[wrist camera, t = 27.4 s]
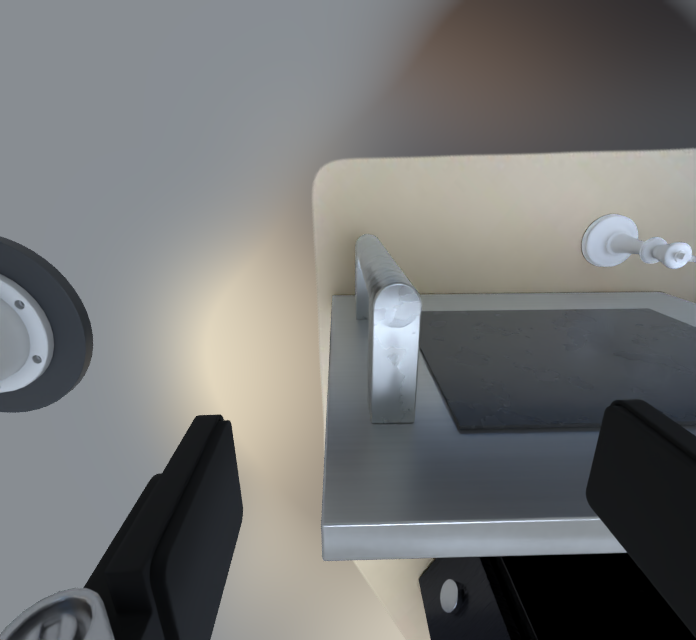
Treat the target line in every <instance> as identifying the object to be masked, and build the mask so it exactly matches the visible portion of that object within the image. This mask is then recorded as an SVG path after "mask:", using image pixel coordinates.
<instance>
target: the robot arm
mask: <svg viewBox="0 0 696 640" xmlns="http://www.w3.org/2000/svg"><path fill="white" fill-rule="evenodd" d="M53 350H54V339H53V332H52V329H51V326H50V323H49V321H48V319H47V317H46V315H45V313H44V311H43V310H42V308H41V307H40V305H39V304H38V303H37V301H36V300H35V299H34V298H33V297H32V296H31V295H30V294H29V293H28V292H27V291H26V290H25V289H23V288H22V287H21V286H19V285H18V284H17V283H15V282H14V281H13V280H11V279H9V278H7V277H5V276H3V275H1V274H0V393H3V392H9V391H14V390H17V389H20V388H23V387H25V386H27V385H28V384H30V383H31V382H33V381H35V380H36V379H37V378H38V377H40V376H41V375H42V374H43V373H44V372H45V370H46V369H47V368H48V366H49V364H50V362H51V359H52V357H53ZM586 498H587V501H588V504H589V505H590V507H591V508H592V510H593V511H594V512H595V513H596V515H597V516H598V517H599V518H600V520H601V521H602V522H603V523H604V525H605V526H606V527H607V528H608V529H609V531H610V532H611V533H612V534H613V536H614V537H615V538H616V539H617V541H618V542H619V543H620V544H621V546H622V547H623V548H624V549H625V551H626V552H627V553H628V554H629V556H630V557H631V558H632V559H633V561H634V562H635V563H636V564H637V566H638V567H639V568H640V569H641V571H642V572H643V573H644V574H645V575H646V577H647V578H648V579H649V580H650V582H651V583H652V584H653V585H654V587H655V588H656V589H657V590H658V592H659V593H660V594H661V595H662V597H663V598H664V599H665V600H666V602H667V603H668V604H669V605H670V607H671V608H672V609H673V610H674V612H675V613H676V614H677V615H678V617H679V618H680V619H681V620H682V621H683V623H684V624H685V625H686V626H687V628H688V629H689V630H690V631H691V633H692V634H693V635H694V636H695V638H696V436H695V435H694V434H692V433H691V432H689V431H688V430H686V429H685V428H683V427H682V426H681V425H679V424H678V423H676V422H675V421H673V420H672V419H670V418H669V417H667V416H666V415H665V414H663V413H662V412H660V411H659V410H657V409H656V408H654V407H653V406H652V405H650V404H649V403H647V402H646V401H644V400H642V399H626V400H615V401H613V402H612V403H611V405H610V406H609V407H607V408H606V409H605V412H604V415H603V420H602V424H601V428H600V432H599V437H598V441H597V445H596V449H595V454H594V458H593V462H592V466H591V471H590V475H589V479H588V483H587V487H586ZM242 516H243V505H242V497H241V490H240V483H239V476H238V469H237V462H236V454H235V447H234V440H233V433H232V426H231V422H230V421H229V420H227V421H224V419H223V417H222V416H221V415H199V416H196V417H195V419H194V420H193V422H192V424H191V426H190V427H189V429H188V430H187V432H186V434H185V436H184V437H183V439H182V441H181V442H180V444H179V446H178V447H177V449H176V451H175V452H174V454H173V456H172V458H171V459H170V461H169V463H168V464H167V466H166V468H165V469H164V471H163V473H162V474H156V475H155V476H153V477H152V479H151V480H150V481H149V483H148V484H147V486H146V487H145V489H144V491H143V492H142V494H141V496H140V497H139V499H138V500H137V502H136V504H135V505H134V507H133V508H132V510H131V512H130V514H129V515H128V517H127V518H126V520H125V521H124V523H123V525H122V526H121V528H120V530H119V531H118V533H117V534H116V536H115V538H114V539H113V541H112V542H111V544H110V546H109V547H108V549H107V551H106V552H105V554H104V555H103V557H102V559H101V560H100V562H99V564H98V565H97V567H96V569H95V570H94V572H93V573H92V575H91V576H90V578H89V580H88V582H87V583H86V585H85V586H84V588H72V589H68V590H64V591H59V592H57V593H55V594H53V595H50V596H48V597H46V598H44V599H42V600H40V601H38V602H37V603H35V604H34V605H32V606H31V607H29V608H28V609H26V610H25V611H23V612H22V613H21V614H20V615H19V616H18V617H17V618H16V619H14V620H13V621H12V622H11V623H10V624H9V625H8V626H7V627H6V628H5V629H4V630H3V632H2V633H1V634H0V640H210V639H211V635H212V631H213V627H214V624H215V620H216V616H217V613H218V608H219V605H220V601H221V598H222V594H223V590H224V586H225V583H226V579H227V575H228V572H229V568H230V564H231V560H232V557H233V553H234V549H235V545H236V542H237V538H238V534H239V530H240V527H241V523H242Z"/></svg>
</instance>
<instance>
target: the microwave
mask: <svg viewBox="0 0 696 640" xmlns="http://www.w3.org/2000/svg"><path fill="white" fill-rule="evenodd" d="M419 584H420V589H421V594H422V599H423V604H424V608H425V613H426V618H427V623H428V628H429V633H430V638H431V640H696V638H695V636H694V635H693V634H692V633H691V631H690V630H689V629H688V628H687V626H686V625H685V624H684V623H683V621H682V620H681V619H680V618H679V617H678V615H677V614H676V613H675V612H674V610H673V609H672V608H671V607H670V605H669V604H668V603H667V602H666V600H665V599H664V598H663V597H662V595H661V594H660V593H659V592H658V590H657V589H656V588H655V587H654V585H653V584H652V583H651V582H650V580H649V579H648V578H647V577H646V575H645V574H644V573H643V572H642V571H641V569H640V568H639V567H638V566H637V564H636V563H635V562H634V561H633V559H632V558H631V557H630V556H629V554H628V553H600V554H563V555H526V556H489V557H451V558H436V559H435V561H434V562H433V563H432V564H431V565H430V567H429V568H428V569H427V570H426V571H425V572H424V574H423V575H422V576H421V577H420V578H419Z"/></svg>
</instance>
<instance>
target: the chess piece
mask: <svg viewBox="0 0 696 640" xmlns="http://www.w3.org/2000/svg"><path fill="white" fill-rule="evenodd" d="M582 252H583V255H584V257H585V259H586V260H587V261H588V262H589V263H591V264H593V265H595V266H600V267H611V266H615V265H618V264H620V263H622V262H623V261H625V260H626V259H627V258H628V257H629V256H630V255H631V254H639V255H640V258H641V260H642V261H643V262H645V263H656V262H658V261H661V262H662V263H663V264H664V265H665V266H666V267H668V268H671V269H676V268H680V267H682V266H684V265H685V264H686V263H687V262H688V261H691V262H695V263H696V256H693V255H691V254H692V250H691V247H690V246H689V245H688V244H687V243H685V242H675V243H671V244H667V242H666V241H665V240H664V239H662V238H660V237H653V238H650V239H648V240H647V241H645V242H644V241H642V240H639V239H638V230H637V227H636V225H635V223H634V222H633V221H632V220H631V219H630V218H628V217H626V216H623V215H619V214H609V215H605V216H602V217H600V218H599V219H597V220H596V221H594V222H593V223H592V224H591V225H590V226H589V228H588V229H587V231H586V232H585V234H584V237H583V240H582Z"/></svg>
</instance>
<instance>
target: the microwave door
mask: <svg viewBox="0 0 696 640" xmlns="http://www.w3.org/2000/svg"><path fill="white" fill-rule="evenodd" d="M626 399H642V400H644V401H646V402H647V403H649V404H650V405H652V406H653V407H654V408H656V409H657V410H659V411H660V412H662V413H663V414H665V415H666V416H667V417H669V418H670V419H672V420H673V421H675V422H676V423H678V424H679V425H681V426H682V427H683V428H685V429H686V430H688V431H689V432H691V433H692V434H694V435H695V436H696V303H694V302H691V301H688V300H685V299H681V298H678V297H675V296H672V295H669V294H666V293H663V292H590V293H501V294H419V293H418V291H417V290H416V289H415V287H414V286H413V285H412V283H411V282H410V281H409V279H408V278H407V277H406V275H405V274H404V273H403V271H402V270H401V269H400V267H399V266H398V265H397V263H396V262H395V261H394V259H393V258H392V257H391V255H390V254H389V253H388V251H387V250H386V249H385V247H384V246H383V245H382V243H381V242H380V241H379V239H378V238H377V237H376V236H375V235H373V234H364V235H362V236H360V237H359V238H358V240H357V241H356V245H355V295H333V296H332V312H331V333H330V354H329V374H328V395H327V416H326V437H325V458H324V479H323V500H322V520H321V531H322V557H323V560H324V561H339V560H377V559H414V558H451V557H489V556H526V555H563V554H600V553H627V552H626V551H625V549H624V548H623V547H622V546H621V544H620V543H619V542H618V541H617V539H616V538H615V537H614V536H613V534H612V533H611V532H610V531H609V529H608V528H607V527H606V526H605V525H604V523H603V522H602V521H601V520H600V518H599V517H598V516H597V515H596V513H595V512H594V511H593V510H592V508H591V507H590V505H589V504H588V501H587V498H586V487H587V483H588V479H589V475H590V471H591V466H592V462H593V458H594V454H595V449H596V445H597V441H598V437H599V432H600V428H601V424H602V420H603V415H604V412H605V409H606V408H607V407H609V406H610V405H611V403H612V402H613V401H615V400H626Z"/></svg>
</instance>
